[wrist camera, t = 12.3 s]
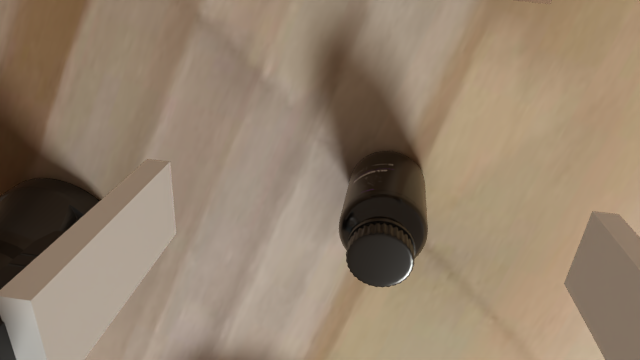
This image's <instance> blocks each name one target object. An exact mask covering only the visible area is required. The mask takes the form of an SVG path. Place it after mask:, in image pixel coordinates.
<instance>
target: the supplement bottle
mask: <svg viewBox="0 0 640 360" xmlns="http://www.w3.org/2000/svg"><path fill="white" fill-rule="evenodd" d="M427 232H428V226H427V208H426V191H425V181H424V177H423V174H422V172H421V170H420V168H419V167H418V165H417V164H416V163H415V162H414V161H413V160H412V159H410V158H409V157H407V156H405V155H403V154H401V153H397V152H393V151H381V152H376V153H373V154H370V155H368V156H366V157H365V158H363V159H362V160H361V161H360V162H359V163H358V164H357V165H356V167H355V168H354V170H353V172H352V175H351V178H350V181H349V185H348V189H347V193H346V197H345V201H344V205H343V209H342V213H341V217H340V222H339V235H340V239H341V241H342V244H343V246H344V247H345V249H346V250H347V252H346V257H347V258H346V262H347V263H348V267H349V268H350V272H352V273H353V275H354V276H355V277H357V278H358V280H360V281H362V282H363V283H366V284H368V285H371V286H375V287H385V286H386V287H390V286H391V285H396V284H398V283H401V282H402V281H403V280H405V279H406V277H408V276H409V275H410V272H411V271H412V269H413V266H414V259H415V258H416V257H417V256H418V255H419V253H420V252H421V251H422V249H423V247H424V245H425V243H426V240H427Z"/></svg>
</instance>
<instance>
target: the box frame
mask: <svg viewBox="0 0 640 360" xmlns="http://www.w3.org/2000/svg"><path fill="white" fill-rule="evenodd" d="M516 1H525V2H534V3H543V4H551V1H552V0H516Z"/></svg>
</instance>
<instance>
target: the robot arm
mask: <svg viewBox="0 0 640 360" xmlns="http://www.w3.org/2000/svg"><path fill="white" fill-rule="evenodd" d="M175 234H176V224H175V213H174V201H173V189H172V178H171V166H170V162H169V161H161V160H152V159H147V160H146V161H144V162H143V163H142V164H141V165H140V166H139V167H138V168H137V169H135V170H134V171H133V172H132V173H131V174H130V175H129V176H128V177H126V178H125V179H124V180H123V181H122V182H121V183H120V184H119V185H117V186H116V187H115V188H114V189H113V190H112V191H111V192H110V193H108V194H107V195H106V196H105V197H104V198H103V199H102V200H101V201H98V200H97V199H96V198H95V197H93V196H92V195H90V194H89V193H87V192H86V191H84V190H82V189H80V188H78V187H76V186H74V185H71V184H69V183H66V182H63V181H59V180H54V179H32V180H28V181H25V182H22V183H20V184H18V185H17V186H15V187H14V188H12V189H10V190H9V191H7V192H6V193H4V194H3V195H1V196H0V360H84V359H85V358H86V357H87V355H88V354H89V353H90V351H91V350H92V348H93V347H94V346H95V344H96V343H97V342H98V340H99V339H100V337H101V336H102V335H103V333H104V332H105V331H106V329H107V328H108V326H109V325H110V324H111V322H112V321H113V320H114V318H115V317H116V315H117V314H118V313H119V311H120V310H121V309H122V307H123V306H124V304H125V303H126V302H127V300H128V299H129V298H130V296H131V295H132V293H133V292H134V291H135V289H136V288H137V287H138V285H139V284H140V282H141V281H142V280H143V278H144V277H145V276H146V274H147V273H148V271H149V270H150V269H151V267H152V266H153V265H154V263H155V262H156V260H157V259H158V258H159V256H160V255H161V254H162V252H163V251H164V249H165V248H166V247H167V245H168V244H169V243H170V241H171V240H172V238H173V237H174V236H175ZM564 284H565V286H566V288H567V290H568V292H569V293H570V295H571V297H572V299H573V301H574V303H575V304H576V306H577V308H578V310H579V312H580V314H581V316H582V317H583V319H584V321H585V323H586V325H587V327H588V328H589V330H590V332H591V334H592V336H593V338H594V340H595V341H596V343H597V345H598V347H599V349H600V351H601V353H602V354H603V356H604V358H605V360H640V237H639V236H638V235H637V234H636V233H635V232H634V231H633V229H632V228H631V227H630V226H629V225H628V224H627V223H626V222H625V220H624V219H623V218H622V217H621V216H620V215H619V214H613V213H604V212H595V211H592V214H591V216H590V219H589V221H588V224H587V226H586V229H585V232H584V234H583V237H582V239H581V242H580V244H579V247H578V249H577V252H576V255H575V257H574V260H573V262H572V265H571V267H570V270H569V272H568V275H567V278H566V280H565V283H564Z"/></svg>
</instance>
